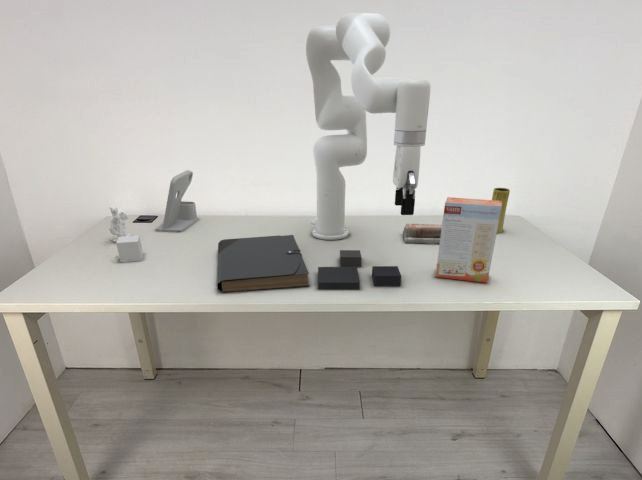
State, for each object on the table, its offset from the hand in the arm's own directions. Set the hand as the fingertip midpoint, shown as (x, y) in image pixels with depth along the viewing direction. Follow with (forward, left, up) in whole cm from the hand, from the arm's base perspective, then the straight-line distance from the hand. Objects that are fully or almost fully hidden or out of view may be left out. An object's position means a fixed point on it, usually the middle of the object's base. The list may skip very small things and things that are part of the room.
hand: (403, 209), depth 122 cm
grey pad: (-16, -3, -18) cm, 24 cm away
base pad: (-8, -15, -18) cm, 25 cm away
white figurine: (-81, -46, -19) cm, 95 cm away
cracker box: (+12, +13, -19) cm, 26 cm away
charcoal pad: (0, -5, -18) cm, 19 cm away
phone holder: (-86, -23, -19) cm, 91 cm away
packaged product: (-14, +33, -19) cm, 40 cm away
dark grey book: (-31, -25, -19) cm, 44 cm away
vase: (-5, +58, -19) cm, 61 cm away
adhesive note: (-63, -50, -19) cm, 82 cm away
